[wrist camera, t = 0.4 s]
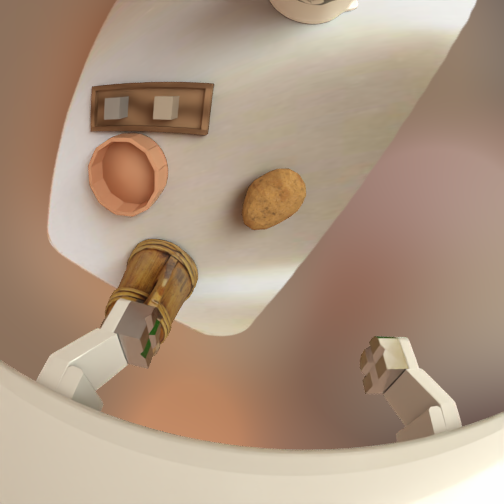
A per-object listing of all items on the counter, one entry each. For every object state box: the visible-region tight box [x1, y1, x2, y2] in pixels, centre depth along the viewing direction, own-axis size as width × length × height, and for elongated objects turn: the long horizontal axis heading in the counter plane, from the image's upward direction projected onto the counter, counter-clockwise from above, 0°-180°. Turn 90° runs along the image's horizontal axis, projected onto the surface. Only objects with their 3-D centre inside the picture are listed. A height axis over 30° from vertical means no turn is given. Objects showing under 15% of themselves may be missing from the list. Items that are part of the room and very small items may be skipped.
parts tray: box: [91, 82, 214, 135], centre depth 45 cm, size 10×26×2 cm, turn 82°
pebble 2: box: [153, 96, 180, 120], centre depth 44 cm, size 4×4×4 cm
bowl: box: [88, 133, 168, 216], centre depth 51 cm, size 17×17×6 cm
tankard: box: [101, 239, 198, 356], centre depth 56 cm, size 18×24×25 cm
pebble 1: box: [104, 96, 129, 120], centre depth 44 cm, size 4×4×4 cm
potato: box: [242, 169, 306, 230], centre depth 51 cm, size 10×14×8 cm
